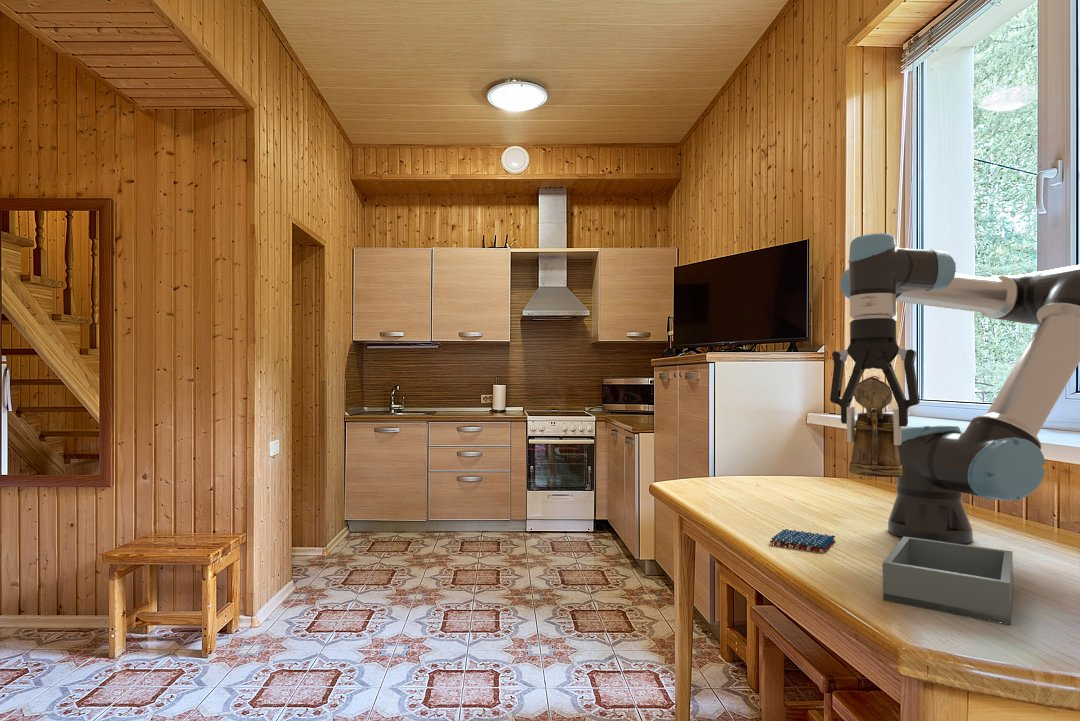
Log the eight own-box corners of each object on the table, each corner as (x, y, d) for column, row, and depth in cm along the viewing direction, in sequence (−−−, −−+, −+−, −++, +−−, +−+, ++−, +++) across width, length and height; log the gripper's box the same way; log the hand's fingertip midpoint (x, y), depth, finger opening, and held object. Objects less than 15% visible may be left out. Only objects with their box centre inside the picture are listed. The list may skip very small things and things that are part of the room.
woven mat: (781, 537, 130) (781, 527, 130) (836, 544, 124) (836, 534, 124) (767, 547, 122) (767, 537, 122) (825, 556, 115) (825, 545, 115)
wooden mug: (843, 477, 109) (842, 376, 110) (851, 469, 121) (850, 377, 121) (901, 482, 105) (899, 376, 105) (903, 473, 116) (902, 377, 117)
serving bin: (904, 568, 107) (903, 536, 107) (1013, 586, 97) (1012, 551, 97) (883, 599, 91) (882, 562, 91) (1010, 625, 82) (1009, 583, 82)
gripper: (810, 320, 117) (810, 440, 116) (932, 313, 104) (934, 448, 104) (821, 323, 123) (822, 438, 122) (939, 317, 110) (940, 445, 109)
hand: (873, 442), depth 113 cm, fingers closed on wooden mug, 7 cm apart
